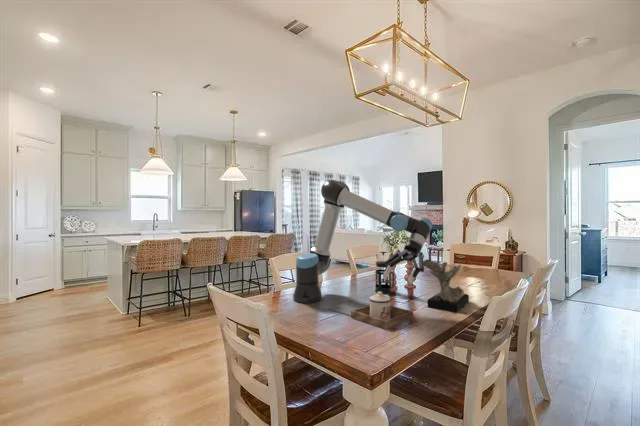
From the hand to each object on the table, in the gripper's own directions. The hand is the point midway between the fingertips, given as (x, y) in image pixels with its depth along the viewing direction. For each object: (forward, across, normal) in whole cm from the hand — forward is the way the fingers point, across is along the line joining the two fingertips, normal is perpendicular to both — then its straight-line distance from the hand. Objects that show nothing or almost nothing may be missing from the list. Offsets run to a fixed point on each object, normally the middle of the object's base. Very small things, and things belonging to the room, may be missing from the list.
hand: (396, 280), depth 147 cm
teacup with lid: (+18, 0, -3) cm, 18 cm away
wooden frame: (+18, 0, -3) cm, 18 cm away
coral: (-9, -7, -31) cm, 33 cm away
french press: (-8, +27, -30) cm, 41 cm away
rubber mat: (+19, +18, -2) cm, 26 cm away
